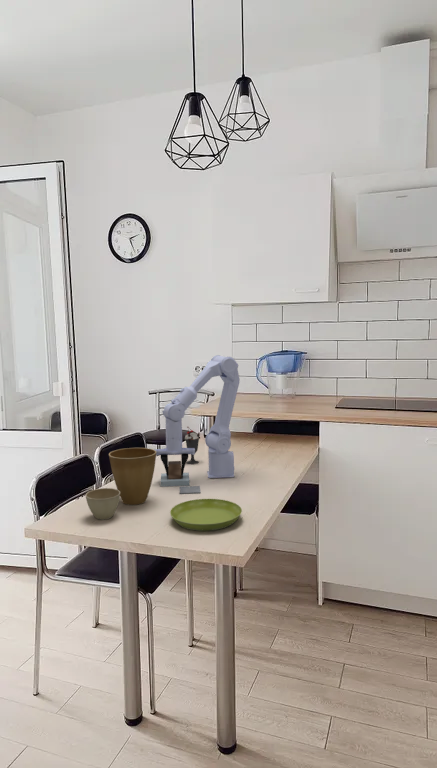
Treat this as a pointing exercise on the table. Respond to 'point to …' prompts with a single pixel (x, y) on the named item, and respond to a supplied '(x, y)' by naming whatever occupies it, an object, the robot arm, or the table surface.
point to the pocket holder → (174, 480)
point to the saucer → (206, 514)
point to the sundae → (192, 443)
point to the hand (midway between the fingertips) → (174, 474)
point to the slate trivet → (189, 489)
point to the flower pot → (103, 502)
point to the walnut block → (174, 469)
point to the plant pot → (133, 473)
